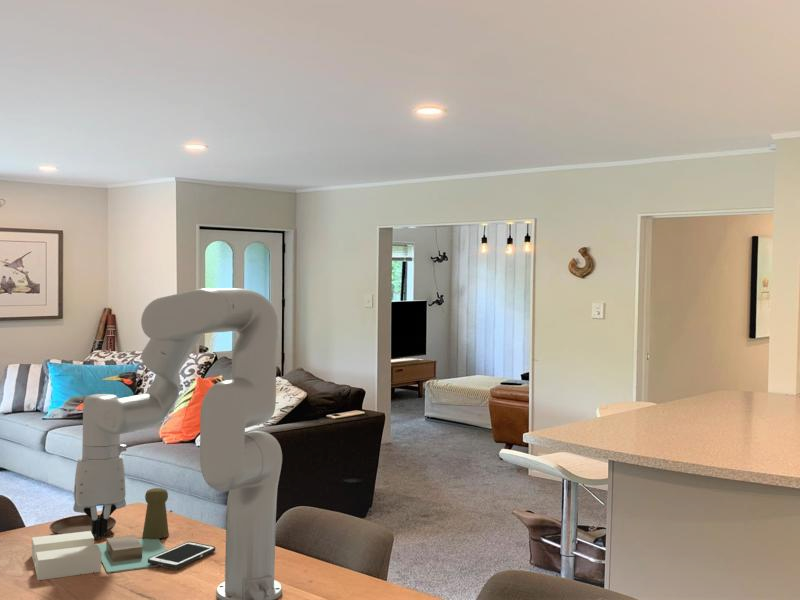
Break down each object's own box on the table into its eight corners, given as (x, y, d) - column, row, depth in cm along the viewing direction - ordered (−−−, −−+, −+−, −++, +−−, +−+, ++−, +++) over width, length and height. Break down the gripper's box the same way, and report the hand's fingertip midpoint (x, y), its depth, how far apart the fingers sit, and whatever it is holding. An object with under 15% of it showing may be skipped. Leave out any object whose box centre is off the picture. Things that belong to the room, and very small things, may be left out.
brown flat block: (113, 550, 172) (113, 562, 172) (142, 546, 175) (142, 558, 175) (106, 538, 180) (106, 549, 180) (134, 534, 183) (134, 545, 183)
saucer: (93, 547, 183) (93, 535, 183) (35, 541, 186) (35, 529, 186) (127, 528, 198) (128, 517, 198) (73, 523, 201) (73, 512, 201)
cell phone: (145, 563, 171) (145, 559, 171) (188, 545, 185) (189, 541, 185) (175, 570, 168) (175, 565, 168) (217, 551, 182) (217, 546, 182)
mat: (175, 563, 173) (175, 562, 173) (107, 573, 166) (107, 571, 166) (157, 538, 190) (157, 537, 190) (93, 546, 183) (94, 544, 183)
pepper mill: (140, 533, 193) (141, 487, 193) (166, 531, 195) (167, 485, 196) (144, 539, 187) (145, 491, 188) (170, 537, 190) (171, 490, 190)
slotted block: (101, 571, 167) (101, 552, 167) (37, 580, 162) (38, 560, 162) (90, 548, 181) (90, 530, 181) (31, 555, 176) (32, 537, 176)
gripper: (133, 446, 181) (131, 527, 181) (61, 451, 174) (60, 536, 174) (140, 452, 175) (138, 537, 175) (65, 458, 167) (64, 546, 168)
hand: (99, 536), depth 175 cm, fingers closed
